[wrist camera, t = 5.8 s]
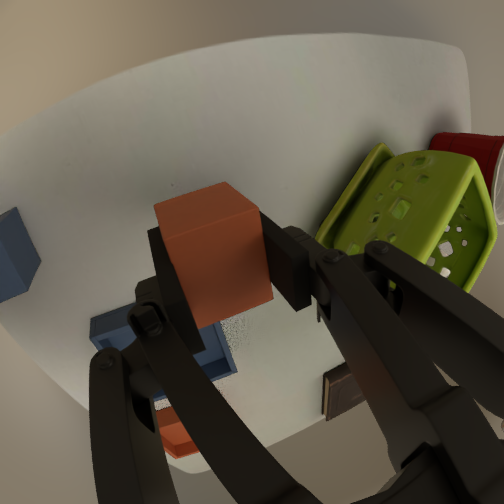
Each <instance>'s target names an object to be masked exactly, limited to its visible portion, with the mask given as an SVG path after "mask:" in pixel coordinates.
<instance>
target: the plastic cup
mask: <svg viewBox="0 0 504 504" xmlns="http://www.w3.org/2000/svg"><path fill="white" fill-rule="evenodd" d="M429 150H434V151H445V152H452V153H457V154H462V155H466V156H469V157H472V158H474V159H475V160H476V162H477V164H478V166H479V168H480V171H481V173H482V176H483V178H484V181H485V184H486V187H487V190H488V194H489V197H490V200H491V204H492V208H493V212H494V216H495V221H496V222H497V223H498V224H499V225H502V224H504V136H488V135H480V134H470V133H450V132H443V133H438V134H436V135H435V136H434V138H433V139H432V141H431V144H430V147H429Z"/></svg>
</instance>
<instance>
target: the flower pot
mask: <svg viewBox="0 0 504 504" xmlns="http://www.w3.org/2000/svg"><path fill="white" fill-rule="evenodd" d="M460 203H461V204H460ZM464 214H465V215H466V216H465V215H464ZM447 225H448V226H450V229H449V231H448V232H445V229H446V227H447ZM457 227H461V229H462V231H461V232H458V231H457ZM496 238H497V227H496V221H495V216H494V212H493V208H492V204H491V200H490V197H489V194H488V190H487V187H486V184H485V181H484V178H483V176H482V173H481V171H480V168H479V166H478V164H477V162H476V160H475V159H474V158H472V157H469V156H466V155H462V154H457V153H452V152H445V151H434V150H423V151H413V152H408V153H404V154H401V155H398V156H394V154H393V153H392V152H391V151H390V149H389V148H388V147H387V146H386V145H385V144H384V143H379V144H377V145H376V146H375V147H374V148H373V149H372V150H371V152H370V153H369V154H368V156H367V157H366V159H365V160H364V162H363V163H362V165H361V166H360V168H359V169H358V171H357V172H356V174H355V175H354V177H353V178H352V180H351V181H350V183H349V184H348V186H347V187H346V189H345V190H344V192H343V193H342V195H341V196H340V198H339V199H338V201H337V202H336V204H335V206H334V207H333V209H332V210H331V212H330V213H329V215H328V216H327V218H326V219H325V220H323V221H322V222H321V223H320V226H319V230H318V232H317V234H316V237H315V240H316V241H317V242H319V243H320V244H321V245H323V246H324V247H325V248H326V249H331V248H332V249H339V250H342V251H344V252H345V253H346V254H347V255H355V254H361V253H364V247H365V245H366V244H367V243H368V242H370V241H374V240H381V241H386V242H388V243H390V244H392V245H394V246H396V247H397V248H399V249H401V250H402V251H404V252H405V253H407V254H409V255H410V256H412V257H414V258H415V259H417V260H418V261H420V262H422V263H423V264H425V265H426V266H428V267H430V268H431V269H433V270H434V271H436V272H437V273H439V274H440V273H441V271H442V269H443V268H447V269H448V270H450V274H449V276H448V278H447V279H448V280H450V281H451V282H453V283H454V284H456V285H457V286H458V287H460V288H461V289H463V290H464V291H466V292H467V293H469V291H470V289H471V288H472V286H473V284H474V283H475V281H476V279H477V277H478V276H479V274H480V272H481V270H482V268H483V266H484V264H485V262H486V260H487V258H488V256H489V254H490V252H491V250H492V248H493V246H494V243H495V241H496ZM463 240H466V241H467V245H466V246H463V245H462V241H463ZM447 241H449V242H450V243H451V246H452V249H453V253H452V254H451V255H449V256H446V257H444V256H442V254H441V251H440V249H439V247H438V246H439V245H440V244H442V243H445V242H447ZM429 257H432V258H435V263H434V265H433V266H429V265H427V263H426V262H427V260H428V258H429ZM390 287H392V288H394V289H395V287H396V284H395V283H393V282H392V281H391V282H390Z"/></svg>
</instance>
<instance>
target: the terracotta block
mask: <svg viewBox="0 0 504 504" xmlns="http://www.w3.org/2000/svg"><path fill="white" fill-rule="evenodd" d="M154 209H155V213H156V217H157V220H158V224H159V228H160V231H161V234H162V238H163V241H164V244H165V247H166V250H167V252H168V255H169V258H170V261H171V263H172V264H173V266H174V268H175V271H176V274H177V276H178V279H179V282H180V284H181V287H182V289H183V292H184V295H185V297H186V300H187V302H188V305H189V307H190V310H191V312H192V315H193V317H194V320H195V322H196V325H197V328H198V329H201V328H203V327H206V326H208V325H211V324H213V323H216V322H219V321H221V320H224V319H226V318H229V317H231V316H234V315H236V314H239V313H241V312H244V311H246V310H249V309H251V308H253V307H256V306H258V305H261V304H263V303H265V302H268V301H270V300H272V299H273V293H272V286H271V281H270V274H269V268H268V262H267V256H266V249H265V243H264V237H263V231H262V224H261V218H260V212H259V208H258V206H256V205H255V204H254V203H252V202H251V201H250V200H249V199H247V198H246V197H245V196H243V195H242V194H241V193H240V192H238V191H237V190H236V189H234V188H233V187H232V186H230V185H229V184H228V183H227V182H222V183H218V184H215V185H212V186H209V187H205V188H202V189H199V190H196V191H193V192H190V193H187V194H184V195H181V196H178V197H175V198H172V199H169V200H166V201H163V202H160V203H157V204H155V205H154Z"/></svg>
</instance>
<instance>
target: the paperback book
mask: <svg viewBox="0 0 504 504" xmlns="http://www.w3.org/2000/svg"><path fill="white" fill-rule="evenodd" d="M365 400H366V399H365V397H364V395H363V393H362V391H361V389H360V387H359V386H358V384H357V382H356V380H355V378H354V376H353V374H352V372H351V370H350V369H349V367H348V365H347V363H344V364H343V365H341V366H339V367H337V368H335V369H333V370H331V371H329V372H327V373H325V374H324V375H323V396H322V414H324V415H325V416H326V421H329V420H331V419H332V418H335V417H336V416H338V415H340V414H342V413H344V412H346V411H347V410H349V409H351V408H353V407H355V406H356V405H358V404H360V403H361V402H363V401H365Z"/></svg>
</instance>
